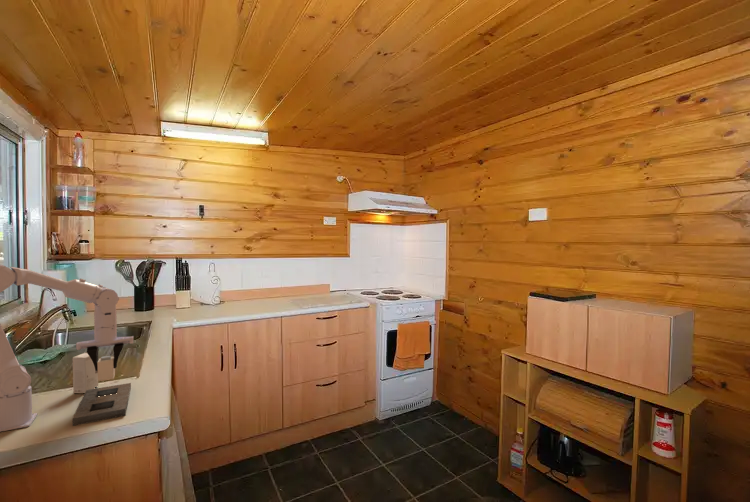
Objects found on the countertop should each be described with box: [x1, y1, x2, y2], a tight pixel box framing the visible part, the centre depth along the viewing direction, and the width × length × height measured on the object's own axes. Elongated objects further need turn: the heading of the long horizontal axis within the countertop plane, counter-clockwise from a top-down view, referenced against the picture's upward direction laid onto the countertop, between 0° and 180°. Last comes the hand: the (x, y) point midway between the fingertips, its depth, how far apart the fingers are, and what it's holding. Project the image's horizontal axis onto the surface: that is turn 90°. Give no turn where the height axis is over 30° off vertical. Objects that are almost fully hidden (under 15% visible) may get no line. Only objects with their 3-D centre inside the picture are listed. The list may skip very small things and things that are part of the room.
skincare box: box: [72, 352, 99, 394], centre depth 124 cm, size 6×4×12 cm
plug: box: [97, 355, 116, 382], centre depth 117 cm, size 4×4×7 cm
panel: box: [72, 382, 132, 427], centre depth 113 cm, size 12×22×2 cm, turn 30°
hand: (106, 368), depth 117 cm, fingers closed on plug, 4 cm apart
